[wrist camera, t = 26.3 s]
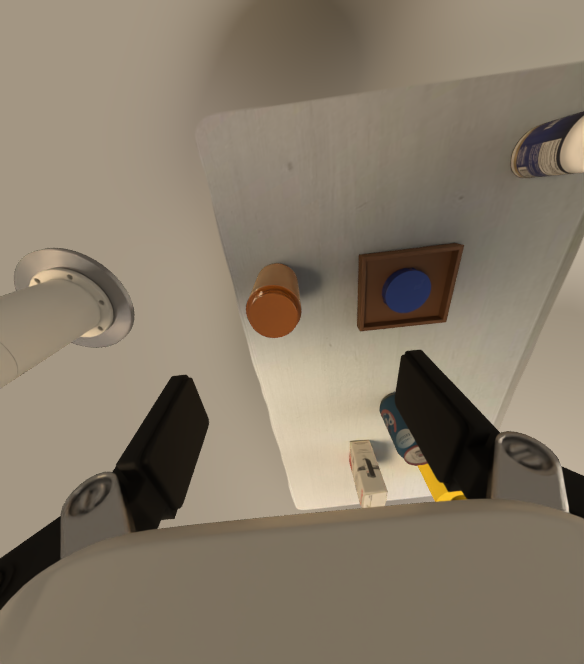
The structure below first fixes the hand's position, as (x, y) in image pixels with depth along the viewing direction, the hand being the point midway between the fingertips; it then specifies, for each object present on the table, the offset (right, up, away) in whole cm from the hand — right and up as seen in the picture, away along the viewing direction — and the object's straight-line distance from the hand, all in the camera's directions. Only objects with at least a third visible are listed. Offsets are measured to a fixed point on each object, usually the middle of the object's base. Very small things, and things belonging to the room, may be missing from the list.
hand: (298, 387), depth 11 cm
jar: (-3, +10, +26) cm, 28 cm away
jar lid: (+18, +9, +26) cm, 32 cm away
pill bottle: (+30, +25, +19) cm, 43 cm away
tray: (+17, +10, +27) cm, 34 cm away
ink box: (+17, -27, +48) cm, 58 cm away
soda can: (+22, -13, +40) cm, 47 cm away
